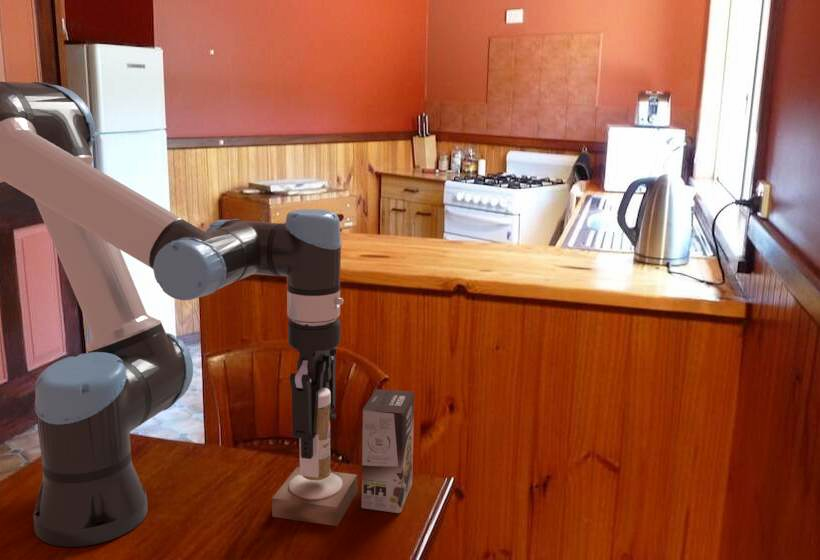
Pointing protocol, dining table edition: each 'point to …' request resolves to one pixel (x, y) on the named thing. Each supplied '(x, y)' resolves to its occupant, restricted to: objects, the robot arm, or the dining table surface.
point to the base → (315, 498)
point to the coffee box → (387, 450)
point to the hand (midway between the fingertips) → (315, 467)
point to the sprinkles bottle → (323, 434)
